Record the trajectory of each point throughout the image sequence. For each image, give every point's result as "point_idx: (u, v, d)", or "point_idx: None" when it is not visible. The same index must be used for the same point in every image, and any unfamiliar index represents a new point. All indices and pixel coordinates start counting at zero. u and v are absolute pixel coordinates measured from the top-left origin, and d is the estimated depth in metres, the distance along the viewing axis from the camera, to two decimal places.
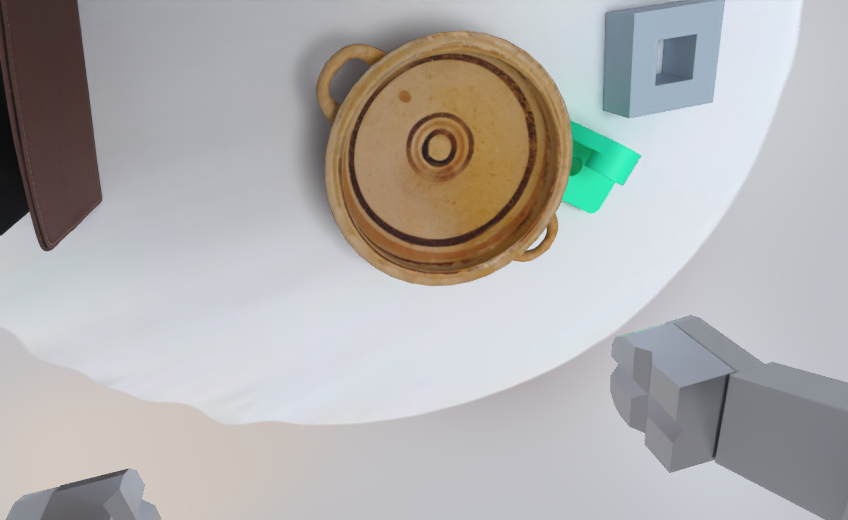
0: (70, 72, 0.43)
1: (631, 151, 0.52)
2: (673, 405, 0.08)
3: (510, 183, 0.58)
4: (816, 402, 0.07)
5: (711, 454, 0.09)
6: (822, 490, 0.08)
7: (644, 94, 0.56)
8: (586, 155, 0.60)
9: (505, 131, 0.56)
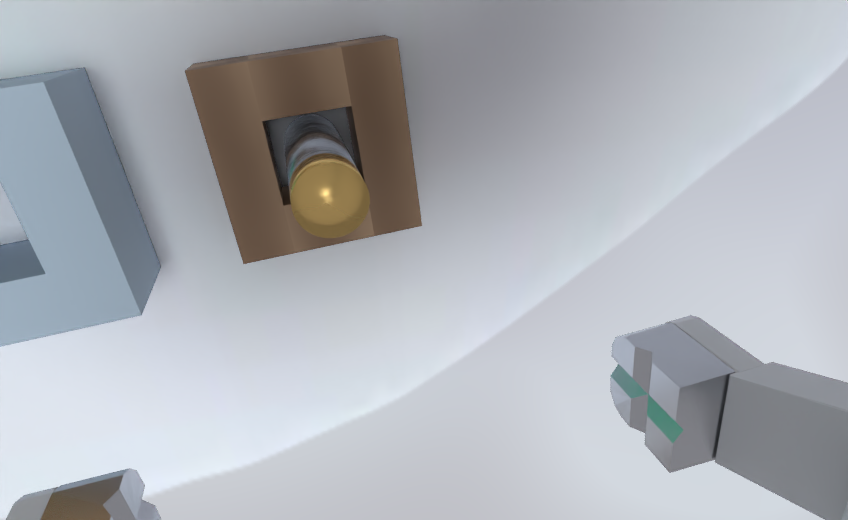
0: None
1: None
2: (673, 405, 0.08)
3: None
4: (816, 403, 0.07)
5: (711, 454, 0.09)
6: (822, 490, 0.08)
7: None
8: None
9: None
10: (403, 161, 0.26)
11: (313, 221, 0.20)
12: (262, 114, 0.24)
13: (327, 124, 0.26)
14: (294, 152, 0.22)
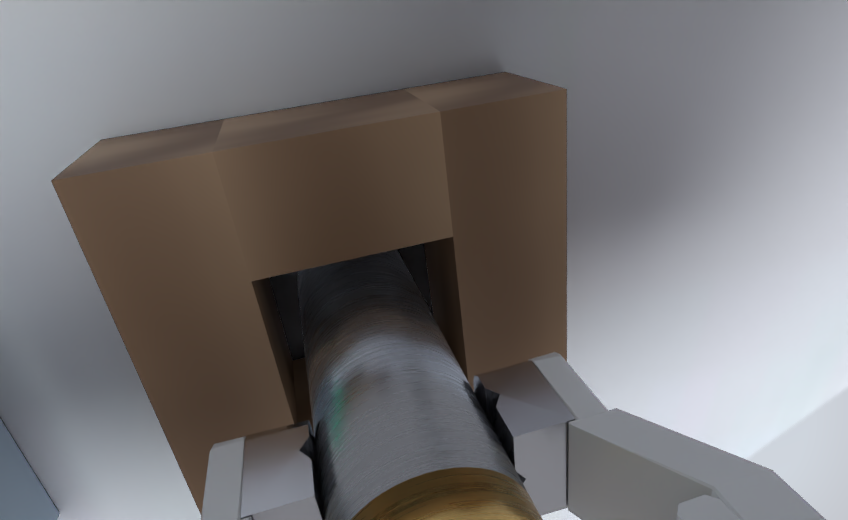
0: None
1: None
2: (512, 454, 0.08)
3: None
4: (642, 458, 0.07)
5: (563, 502, 0.08)
6: None
7: None
8: None
9: None
10: (548, 334, 0.13)
11: None
12: (252, 267, 0.10)
13: (391, 262, 0.12)
14: (334, 396, 0.08)
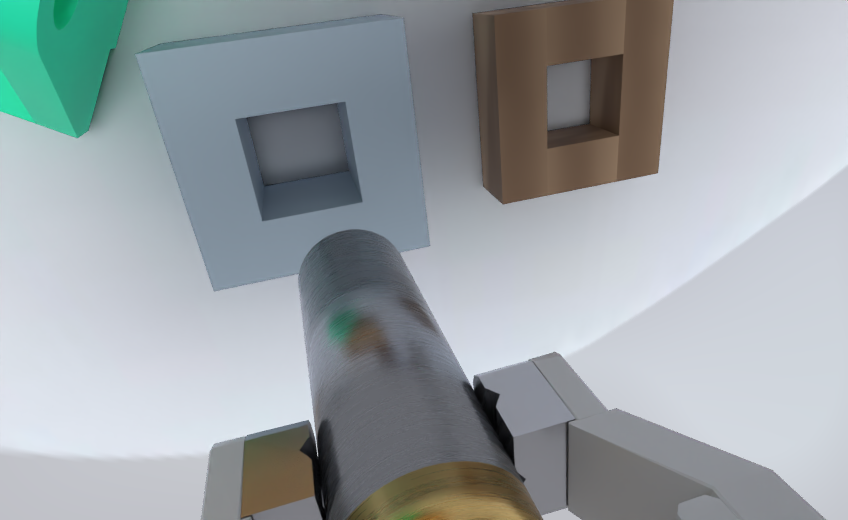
0: None
1: None
2: (512, 454, 0.08)
3: None
4: (642, 457, 0.07)
5: (563, 502, 0.08)
6: None
7: (209, 90, 0.21)
8: None
9: None
10: (655, 109, 0.28)
11: None
12: (548, 59, 0.26)
13: (391, 261, 0.12)
14: (335, 393, 0.09)
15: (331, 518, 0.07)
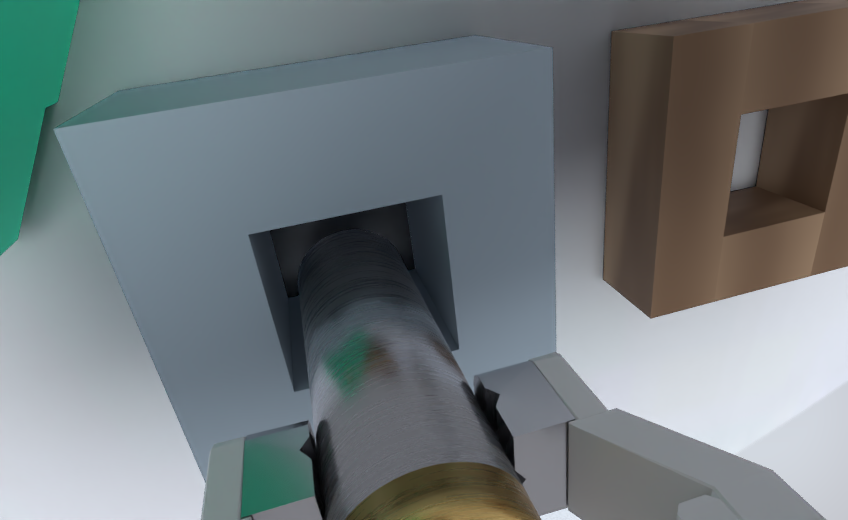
0: None
1: None
2: (512, 454, 0.08)
3: None
4: (642, 457, 0.07)
5: (564, 502, 0.08)
6: None
7: (200, 187, 0.11)
8: None
9: None
10: None
11: None
12: (745, 104, 0.16)
13: (390, 262, 0.12)
14: (334, 393, 0.09)
15: (329, 518, 0.07)
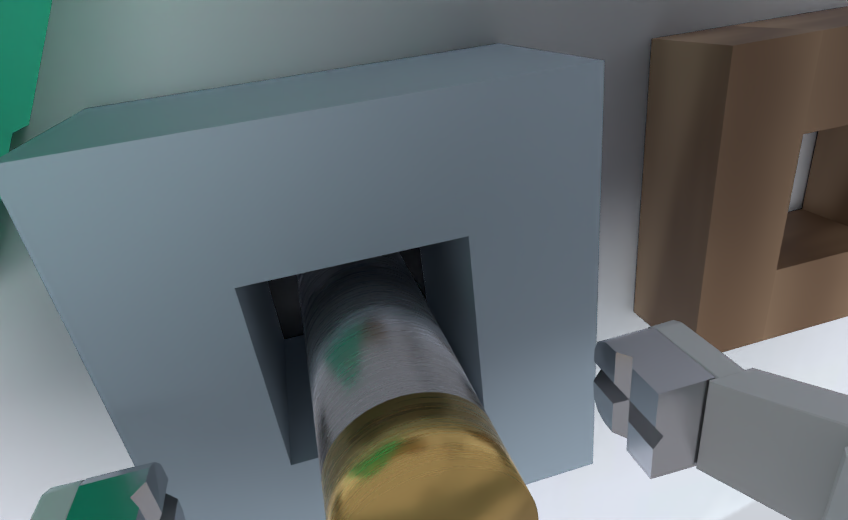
0: None
1: None
2: (653, 411, 0.08)
3: None
4: (794, 409, 0.07)
5: (692, 460, 0.09)
6: (802, 497, 0.08)
7: (175, 233, 0.09)
8: None
9: None
10: None
11: None
12: (808, 122, 0.14)
13: None
14: (327, 344, 0.10)
15: (321, 444, 0.08)
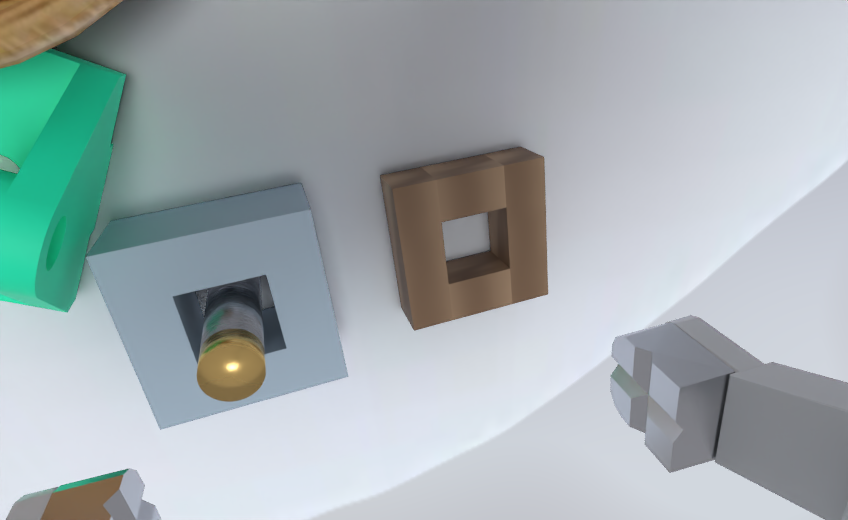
0: None
1: (34, 258, 0.19)
2: (673, 405, 0.08)
3: None
4: (815, 402, 0.07)
5: (711, 454, 0.09)
6: (822, 490, 0.08)
7: (149, 277, 0.25)
8: None
9: None
10: (539, 246, 0.33)
11: (217, 390, 0.23)
12: (442, 217, 0.31)
13: None
14: (208, 317, 0.26)
15: (200, 348, 0.24)
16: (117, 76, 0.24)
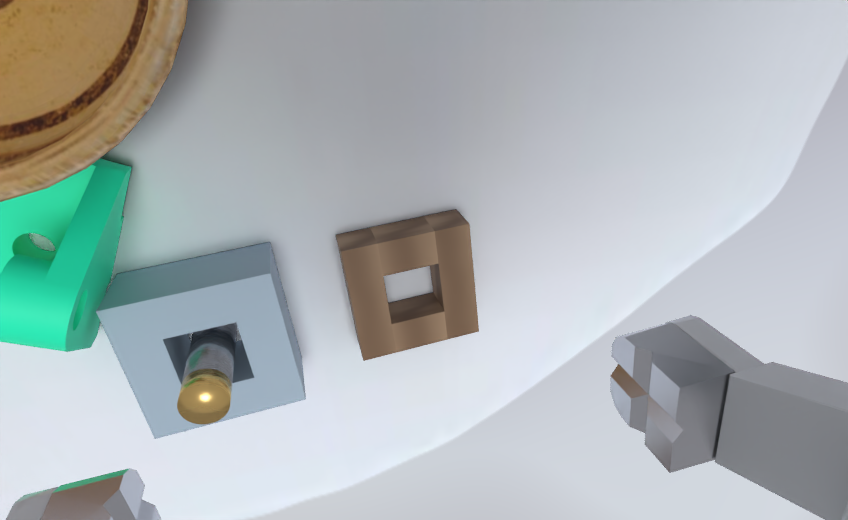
0: None
1: (64, 327, 0.26)
2: (673, 405, 0.08)
3: None
4: (815, 402, 0.07)
5: (711, 454, 0.09)
6: (822, 490, 0.08)
7: (144, 325, 0.33)
8: None
9: (21, 78, 0.28)
10: (469, 293, 0.40)
11: (193, 416, 0.31)
12: (383, 272, 0.37)
13: None
14: (189, 355, 0.33)
15: (182, 382, 0.32)
16: (124, 173, 0.31)
